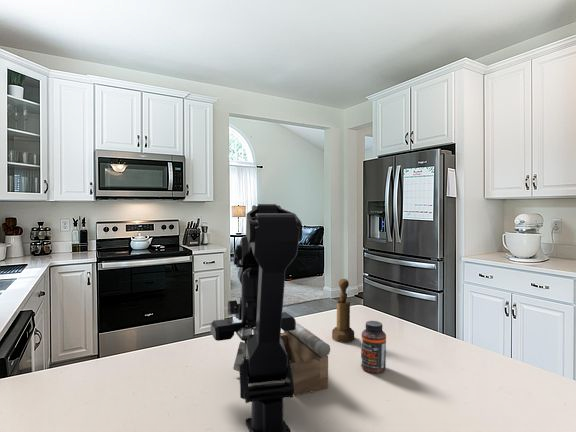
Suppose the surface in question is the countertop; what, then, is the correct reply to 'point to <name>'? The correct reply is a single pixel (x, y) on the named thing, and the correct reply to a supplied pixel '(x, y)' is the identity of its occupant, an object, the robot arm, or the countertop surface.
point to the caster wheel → (240, 355)
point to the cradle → (306, 360)
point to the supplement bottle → (373, 348)
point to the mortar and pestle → (343, 316)
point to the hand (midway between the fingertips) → (253, 362)
